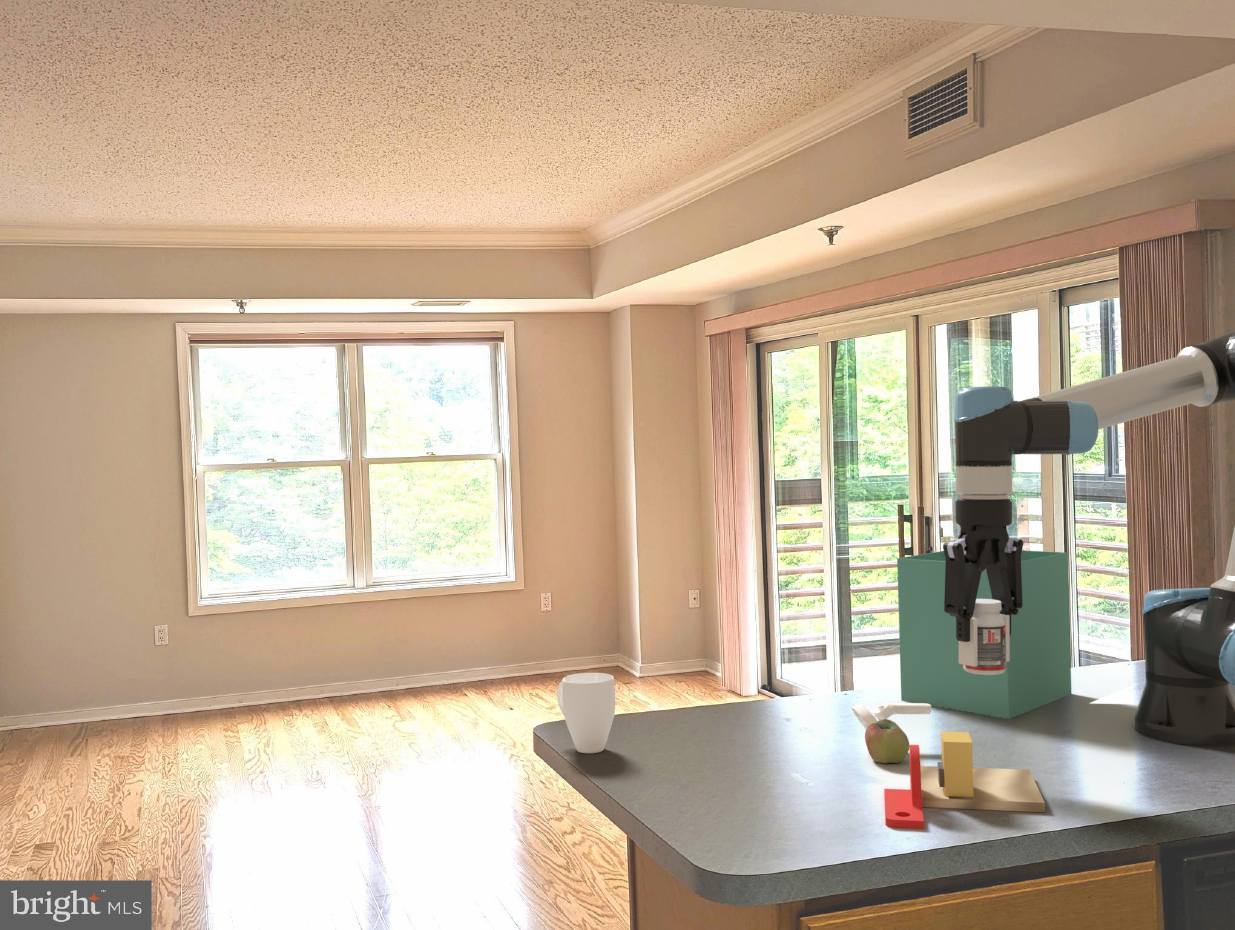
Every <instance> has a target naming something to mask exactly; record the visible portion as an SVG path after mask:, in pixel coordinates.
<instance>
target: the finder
mask: <svg viewBox="0 0 1235 930" xmlns="http://www.w3.org/2000/svg"><path fill="white" fill-rule="evenodd" d="M940 740H941V741H940V743H941V744H940V745H941V746H940V747H941V749H940V750H941V761H937V767H938V782H939V787H943V789H944V793H945V796H959V797H974V792H973V768H974V767H973V766H974V763H973V760H974V759H973V741H972V739H971V736H970V733H969V732H967V731H965V732H964V731H959V732H958V731H940Z"/></svg>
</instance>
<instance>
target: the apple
mask: <svg viewBox="0 0 1235 930" xmlns="http://www.w3.org/2000/svg"><path fill="white" fill-rule="evenodd" d="M864 732H865V733H864V741H865V745H866V748H867V751H868V754H869V757H870V758H871V759H872V760H873V761H874V762H876V763H881V764H884V765H885V764H887V765H888V764H890V763H892V764H899V763H901V762H903V761H904V759H905V758H906V756H907V754H908V753H909V752H910V741H909V737H908V736H907V734H906V733H905V731H904V730H903V729H902V728H901V727H900V726H899V724H897V723H896V722H895V721H893V720H891V719H889V718H888V719H883V720H880V721H879V720H877V722H875V723H872V724H870V725H869V726H868V727H867V729H865V731H864Z"/></svg>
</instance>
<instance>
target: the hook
mask: <svg viewBox="0 0 1235 930" xmlns="http://www.w3.org/2000/svg"><path fill="white" fill-rule="evenodd" d="M851 711H852V713H853V714H854V715H855V717H856V718H857V719H858V721H859V723H860V724H861V725H862V727H864V729H865V730H866V729H867V727H868V726H869V725H870V724H872V723H875V722H877V721H880V720H883V719H888V720H889V718H890V717H891V716H893V715H930V714H931V712H932V706H931V705H930V704H927V703H914V702H884V703H880V704H879V705H878V706H877V707H875V708H874V710H873V713H872V712H871V711H870V709H868V708H867V707H866V706H865V705H864V704H863V703H860V704H855V705H852V706H851ZM873 714H874V715H873Z"/></svg>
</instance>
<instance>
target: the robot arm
mask: <svg viewBox="0 0 1235 930" xmlns="http://www.w3.org/2000/svg"><path fill="white" fill-rule="evenodd" d="M1225 402H1226V403H1227V402H1235V330H1232V331H1230V332H1229V331H1228V333H1225V334H1223V335H1220V336H1218V337H1214V338H1212V339H1209V340H1205V341H1203V342H1200V343H1197V344H1195V345H1191V346H1186V347H1184V348H1182V349H1181V350H1179V352H1178V353H1177V355H1176V357H1173V358H1172V357H1171V358H1168V359H1164V360H1161V361H1158V362H1155V363H1151V364H1147V365H1144V366H1140V367H1137V368H1133V369H1129V370H1126V371H1123V372H1119V373H1115V374H1111V375H1108V376H1104V377H1101V378H1098V379H1094V380H1093V379H1092V380H1090V381H1086V382H1083V383H1079V384H1076V385H1072V386H1069V387H1066V388H1062V389H1059V390H1055V391H1051V392H1047V393H1044V394H1041V395H1037V396H1034V397H1032V398H1027V399H1023V400H1014V397H1013V393H1012V390H1011V388H1010V387H1008V386H998V385H997V386H969V387H964V388H962V389H960V390H958V392H957V393H956V397H955V403H954V404H955V406H954V418H953V423H954V433H955V434H954V437H955V438H954V442H955V494H957V495H960V498H957V499H956V500H955V504H954V505H955V523H956V524H957V525H958V526H959V528H960V530H959V534H958V536H957V539H956V540H955V541H953V542H948V541H947V542H946V541H945V542H944V543H943V545H942V551H944V554H945V558H946V566H945V597H944V611H945V613H949V614H950V615H951V616H954V617H956V638H957V641H959V664H964V665H969V666H973V667H974V666H978V657H977V619H975V618H972V617H973V612H974V607H975V602H976V597H977V592H978V587H979V583H980V578H981V573H982V572H983V571H984V570H985V569H986V571H987V576H988V580H989V585H990V590H991V594H992V599H994V600H999V601H1001V607H1002V610H1001V611H1000V612H999V614H1000V616H1001V617H1002V618H1003V619H1004V621H1005V654H1006V662H1008V661H1010V637H1009V636H1010V635H1011V614H1013V615H1017V614H1018V609H1017V608H1019V609H1020V608H1022V606H1023V600H1022V573H1021V553H1022V550H1023V547H1024V541H1023V539H1021V538H1020V539H1019V538H1013V537H1010V535H1009V533H1008V532H1009V531H1008V528H1007V526H1010V525H1012V523H1013V501H1012V500H1011V499H1010V498H1008V496H1011V495H1012V494H1013V467H1012V466H1013V455H1066V456H1070V455H1078V454H1086V453H1088V452H1089V451H1091V450H1092V449H1093V448H1094V445H1095V444H1096V442H1097V440H1098V436H1099V430H1102V429H1106V428H1110V427H1113V426H1116V425H1120V424H1124V423H1127V422H1131V421H1134V420H1138V419H1141V418H1144V417H1147V416H1151V415H1155V414H1158V413H1163V412H1166V411H1170V410H1173V409H1177V408H1179V407H1180V408H1181V407H1184V406H1188V405H1193V406H1196V407H1198V408H1199V407H1201V408H1203V407H1208V406H1211V405H1215V404H1218V403H1225ZM1229 548H1230V549H1229V554H1228V556H1227V557H1228V558H1227V563H1226V568H1225V573H1224V575H1223V577H1221V578H1220V579H1219V580H1217V581H1215V582H1214V583H1211V585H1210V587H1194V588H1193V587H1191V588H1190V587H1189V588H1188V587H1187V588H1169V589H1168V588H1165V589H1154V590H1150V591H1149V592H1147V593H1146V594H1145V596H1144V599H1143V609H1142V617H1143V633H1144V635H1143V637H1144V640H1143V641H1144V662H1145V663H1144V666H1145V668H1144V669H1145V685H1144V688H1143V690H1142V693H1141V696H1140V699H1139V703H1138V706H1137V708H1136V711H1135V715H1134V730H1135V731H1136V732H1137V733H1138V734H1139V735H1140V736H1143V737H1144V738H1145V737H1146V738H1149V739H1152V740H1154V741H1155V740H1156V741H1160V742H1165V743H1169V744H1175V745H1184V746H1196V747H1197V746H1198V747H1221V746H1222V747H1223V746H1229V745H1230V746H1231V745H1234V744H1235V699H1234V696H1233V693H1232V691H1231V686H1230V685H1233V686H1234V687H1235V526H1234V528H1233V532H1232V538H1231V543H1230V547H1229ZM1012 598H1014V599H1012ZM964 607H965V609H964Z"/></svg>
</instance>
